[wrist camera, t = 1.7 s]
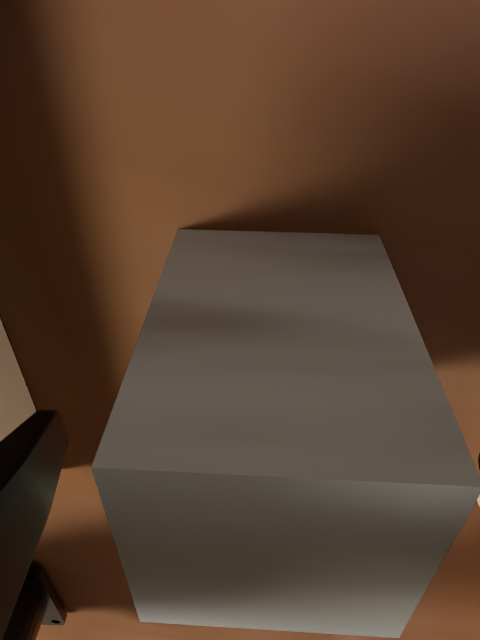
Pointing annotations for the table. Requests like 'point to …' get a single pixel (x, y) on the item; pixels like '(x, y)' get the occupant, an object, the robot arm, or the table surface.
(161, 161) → the table surface
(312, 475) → the slate block
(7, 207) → the table surface
